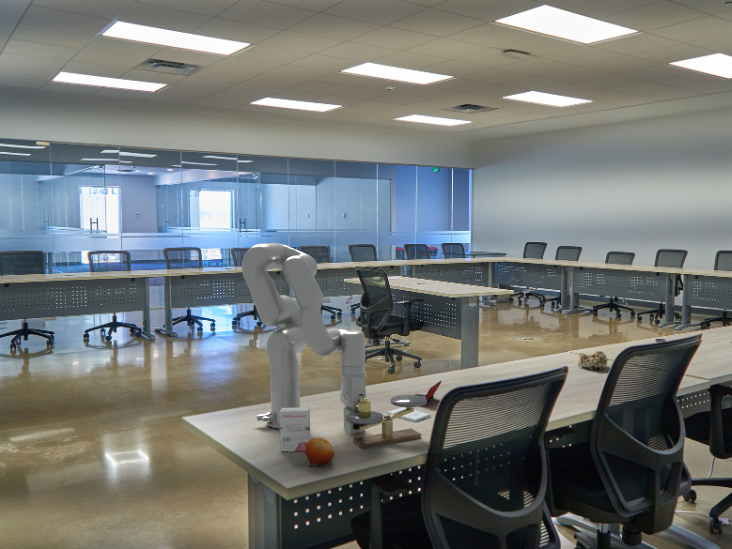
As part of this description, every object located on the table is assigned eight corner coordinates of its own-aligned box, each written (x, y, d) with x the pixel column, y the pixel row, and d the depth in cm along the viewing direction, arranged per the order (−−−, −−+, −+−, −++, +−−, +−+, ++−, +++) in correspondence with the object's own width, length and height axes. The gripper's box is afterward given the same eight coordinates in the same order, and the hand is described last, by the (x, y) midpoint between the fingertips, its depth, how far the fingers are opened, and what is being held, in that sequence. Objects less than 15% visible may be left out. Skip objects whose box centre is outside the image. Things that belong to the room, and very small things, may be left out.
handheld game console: (415, 396, 232) (415, 377, 231) (442, 399, 227) (442, 380, 226) (402, 405, 220) (402, 385, 220) (430, 408, 216) (430, 388, 215)
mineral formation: (607, 365, 279) (614, 370, 264) (577, 369, 281) (582, 375, 267) (604, 348, 279) (610, 352, 264) (574, 352, 282) (579, 357, 267)
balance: (356, 453, 172) (355, 405, 171) (340, 441, 182) (339, 395, 181) (433, 438, 183) (433, 393, 182) (415, 428, 193) (414, 385, 192)
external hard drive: (403, 411, 214) (430, 418, 205) (387, 416, 208) (415, 424, 199) (403, 406, 214) (430, 413, 205) (387, 411, 208) (415, 419, 199)
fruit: (298, 454, 168) (313, 429, 168) (323, 467, 169) (337, 442, 169) (297, 465, 160) (313, 439, 160) (323, 478, 161) (338, 453, 160)
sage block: (350, 433, 189) (350, 411, 188) (344, 429, 193) (343, 407, 193) (364, 431, 191) (364, 409, 190) (358, 427, 195) (357, 405, 195)
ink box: (311, 445, 179) (310, 406, 178) (310, 451, 174) (309, 411, 173) (281, 446, 178) (281, 406, 178) (279, 452, 174) (279, 411, 173)
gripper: (332, 366, 197) (333, 420, 198) (354, 376, 181) (355, 436, 183) (352, 363, 200) (353, 417, 201) (376, 373, 185) (377, 432, 186)
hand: (354, 425), depth 192 cm, fingers closed on sage block, 5 cm apart
